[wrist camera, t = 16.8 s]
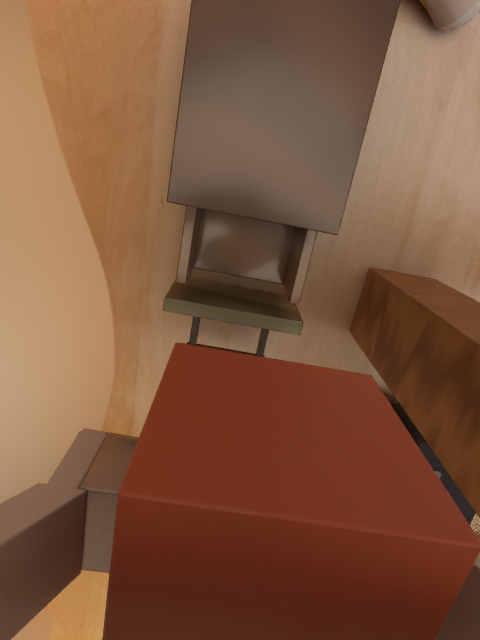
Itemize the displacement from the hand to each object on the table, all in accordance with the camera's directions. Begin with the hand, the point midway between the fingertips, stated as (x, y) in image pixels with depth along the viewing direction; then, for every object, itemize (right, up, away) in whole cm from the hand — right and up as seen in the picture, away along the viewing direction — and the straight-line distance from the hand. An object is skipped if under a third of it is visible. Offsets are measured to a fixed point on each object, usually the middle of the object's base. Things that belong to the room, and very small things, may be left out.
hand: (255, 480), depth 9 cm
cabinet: (+2, +20, +27) cm, 34 cm away
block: (0, 0, +1) cm, 1 cm away
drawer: (0, +10, +30) cm, 31 cm away
